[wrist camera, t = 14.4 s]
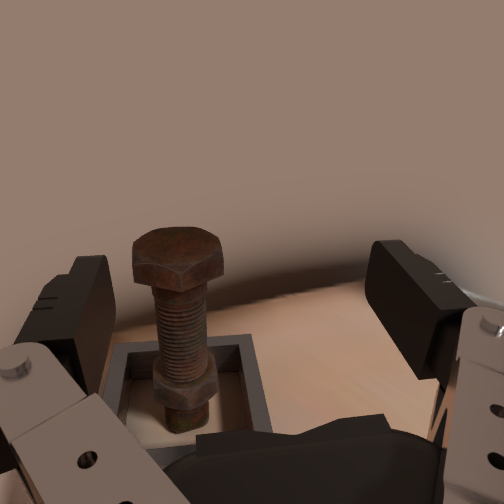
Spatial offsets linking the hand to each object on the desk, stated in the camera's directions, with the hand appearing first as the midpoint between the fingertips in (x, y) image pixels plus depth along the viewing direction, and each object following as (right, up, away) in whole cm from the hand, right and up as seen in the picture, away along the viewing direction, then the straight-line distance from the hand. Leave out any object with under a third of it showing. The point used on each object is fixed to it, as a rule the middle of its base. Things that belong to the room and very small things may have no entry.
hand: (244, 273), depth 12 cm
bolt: (-5, -12, +18) cm, 23 cm away
